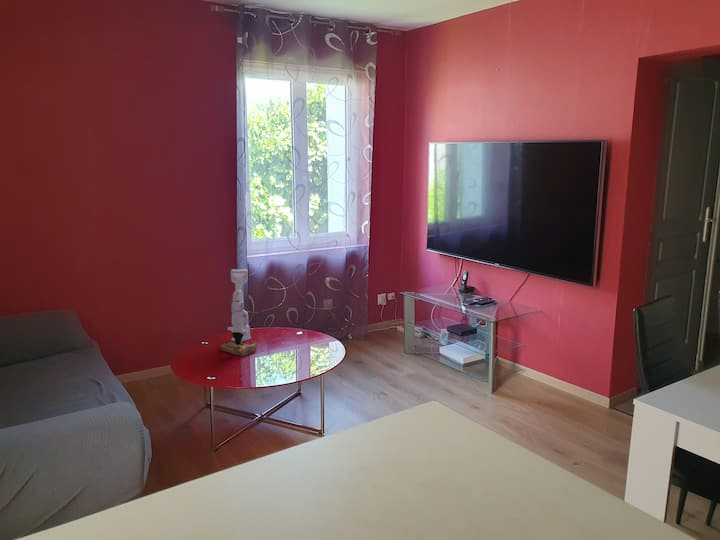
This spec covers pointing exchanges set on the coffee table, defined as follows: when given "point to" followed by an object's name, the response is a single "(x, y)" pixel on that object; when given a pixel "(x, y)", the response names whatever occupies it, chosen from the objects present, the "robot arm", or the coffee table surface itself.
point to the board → (238, 348)
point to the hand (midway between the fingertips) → (238, 344)
